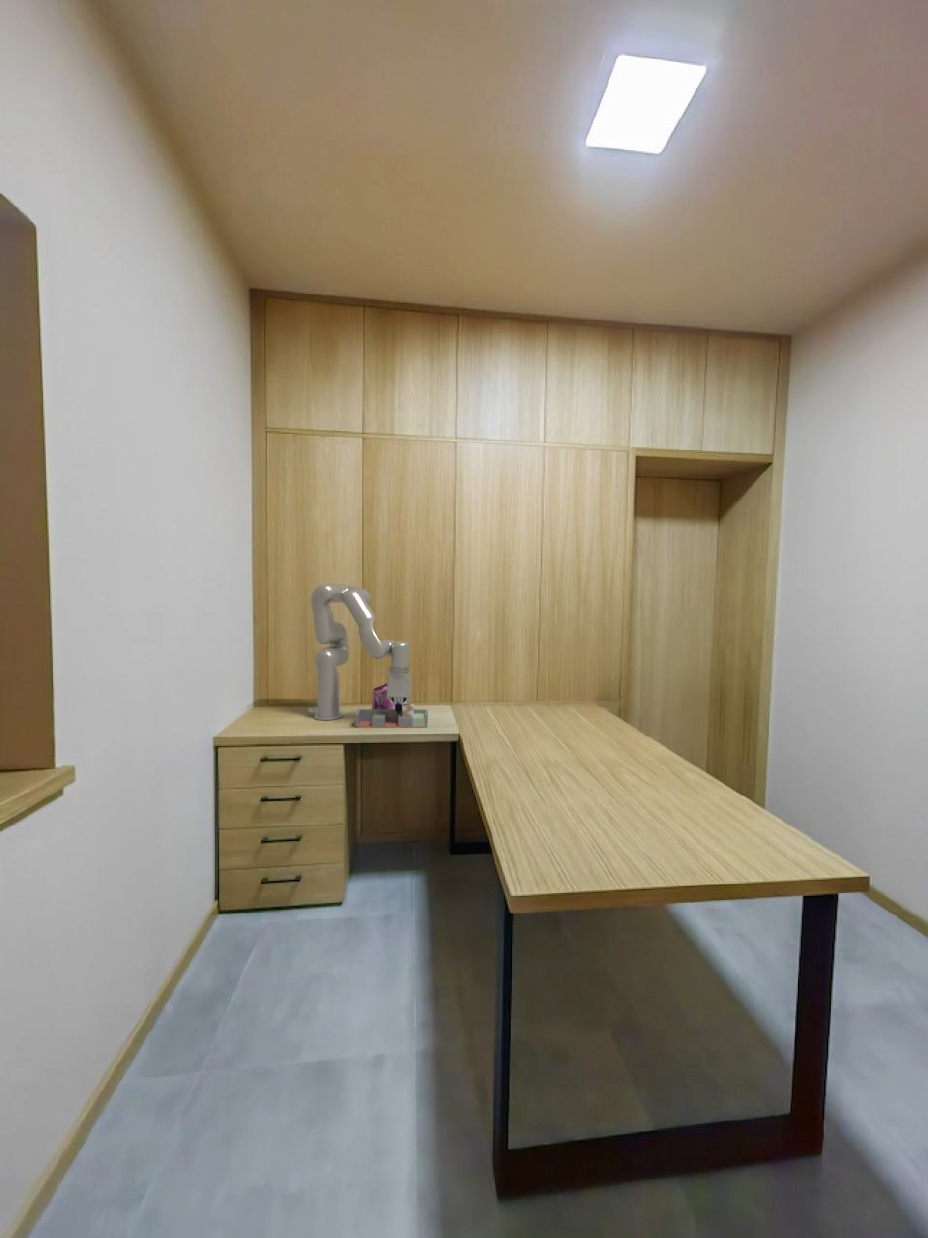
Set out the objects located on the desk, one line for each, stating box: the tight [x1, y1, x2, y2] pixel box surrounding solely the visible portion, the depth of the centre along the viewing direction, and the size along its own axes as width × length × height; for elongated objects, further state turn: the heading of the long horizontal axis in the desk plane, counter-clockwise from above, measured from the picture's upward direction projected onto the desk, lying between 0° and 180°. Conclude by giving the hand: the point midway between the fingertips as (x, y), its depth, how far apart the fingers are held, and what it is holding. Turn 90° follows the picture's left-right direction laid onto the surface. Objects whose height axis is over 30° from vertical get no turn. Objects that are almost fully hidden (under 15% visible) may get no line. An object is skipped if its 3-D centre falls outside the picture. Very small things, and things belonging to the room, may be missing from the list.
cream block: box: [402, 703, 415, 717], centre depth 210 cm, size 4×4×4 cm
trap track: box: [354, 708, 429, 729], centre depth 210 cm, size 30×9×6 cm, turn 92°
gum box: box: [371, 682, 408, 709], centre depth 227 cm, size 24×8×14 cm, turn 164°
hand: (398, 712), depth 210 cm, fingers closed
